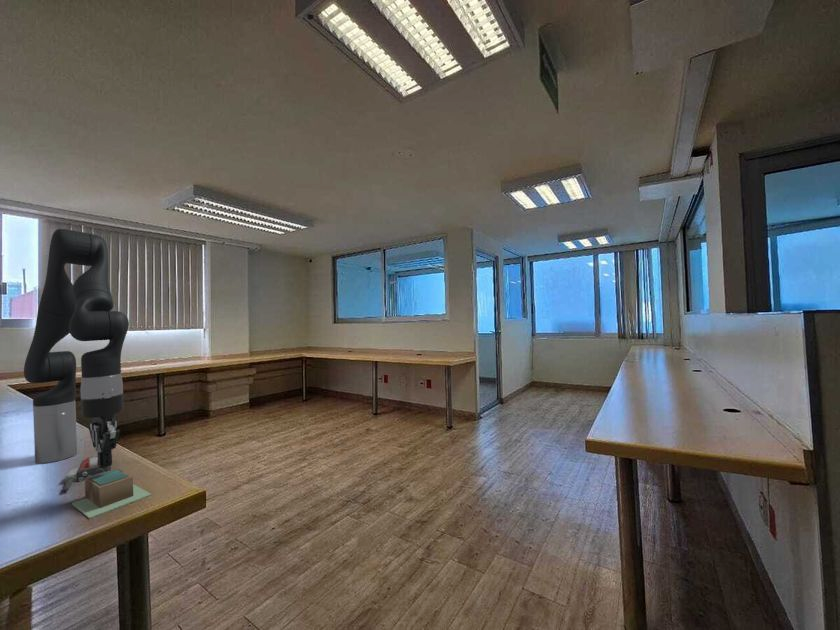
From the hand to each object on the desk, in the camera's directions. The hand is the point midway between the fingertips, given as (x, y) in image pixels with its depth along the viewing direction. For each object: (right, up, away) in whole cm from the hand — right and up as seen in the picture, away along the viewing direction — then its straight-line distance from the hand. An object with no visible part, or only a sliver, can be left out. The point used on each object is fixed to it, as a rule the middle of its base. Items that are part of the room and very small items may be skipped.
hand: (105, 466), depth 84 cm
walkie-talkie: (-15, -8, +12) cm, 21 cm away
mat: (+4, -7, -2) cm, 8 cm away
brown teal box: (-2, -5, +2) cm, 5 cm away
